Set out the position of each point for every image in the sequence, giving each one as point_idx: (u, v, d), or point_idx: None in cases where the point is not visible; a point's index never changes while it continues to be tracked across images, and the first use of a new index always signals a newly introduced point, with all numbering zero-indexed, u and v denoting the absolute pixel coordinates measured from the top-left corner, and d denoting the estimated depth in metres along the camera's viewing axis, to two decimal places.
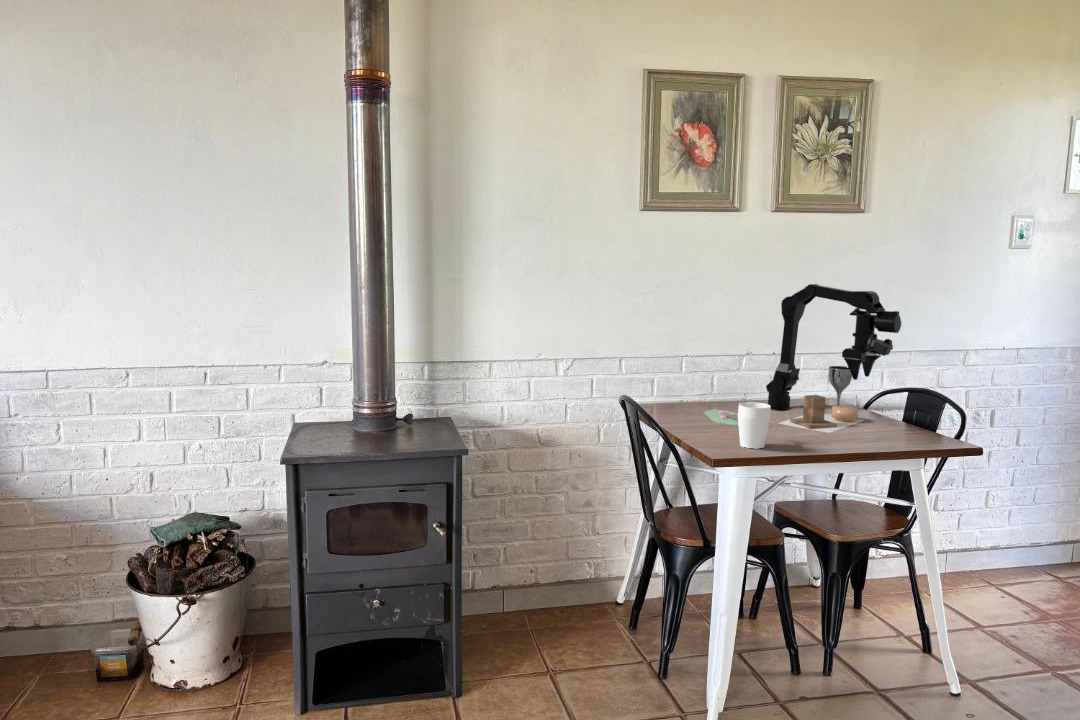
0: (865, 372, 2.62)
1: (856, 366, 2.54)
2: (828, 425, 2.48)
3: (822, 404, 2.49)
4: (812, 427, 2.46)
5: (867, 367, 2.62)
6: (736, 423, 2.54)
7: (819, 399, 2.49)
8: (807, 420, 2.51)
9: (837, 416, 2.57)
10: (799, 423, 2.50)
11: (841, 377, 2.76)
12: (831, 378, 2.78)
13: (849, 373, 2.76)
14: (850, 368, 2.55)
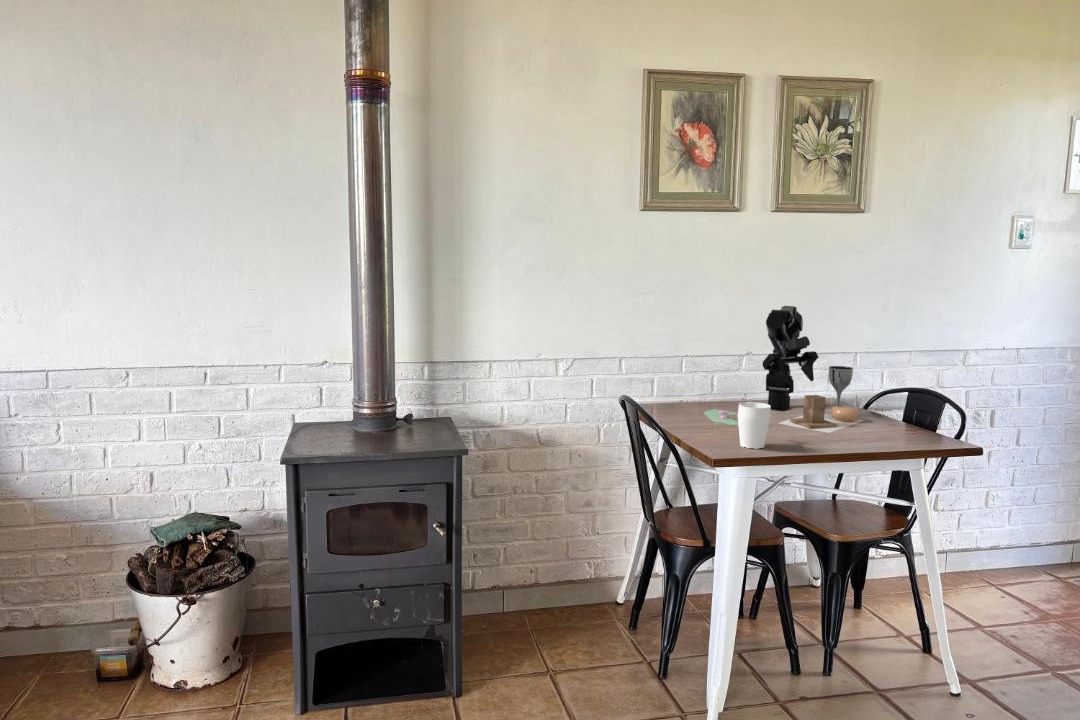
0: (809, 378, 2.60)
1: (781, 370, 2.57)
2: (828, 425, 2.48)
3: (822, 404, 2.49)
4: (812, 427, 2.46)
5: (808, 373, 2.61)
6: (736, 423, 2.54)
7: (819, 399, 2.49)
8: (807, 420, 2.51)
9: (837, 416, 2.57)
10: (799, 423, 2.50)
11: (841, 377, 2.76)
12: (831, 378, 2.78)
13: (849, 373, 2.76)
14: (779, 375, 2.59)
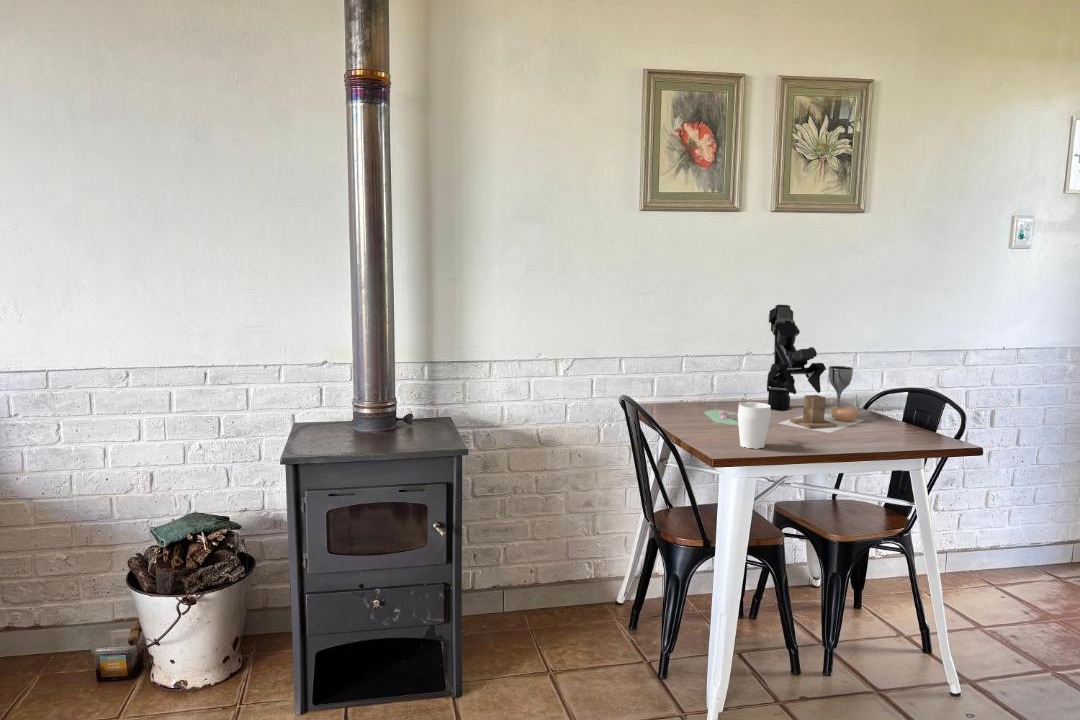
0: (816, 389, 2.56)
1: (787, 381, 2.54)
2: (828, 425, 2.48)
3: (822, 404, 2.49)
4: (812, 427, 2.46)
5: (815, 384, 2.57)
6: (736, 423, 2.54)
7: (819, 399, 2.49)
8: (807, 420, 2.51)
9: (837, 416, 2.57)
10: (799, 423, 2.50)
11: (841, 377, 2.76)
12: (831, 378, 2.78)
13: (849, 373, 2.76)
14: (785, 386, 2.55)
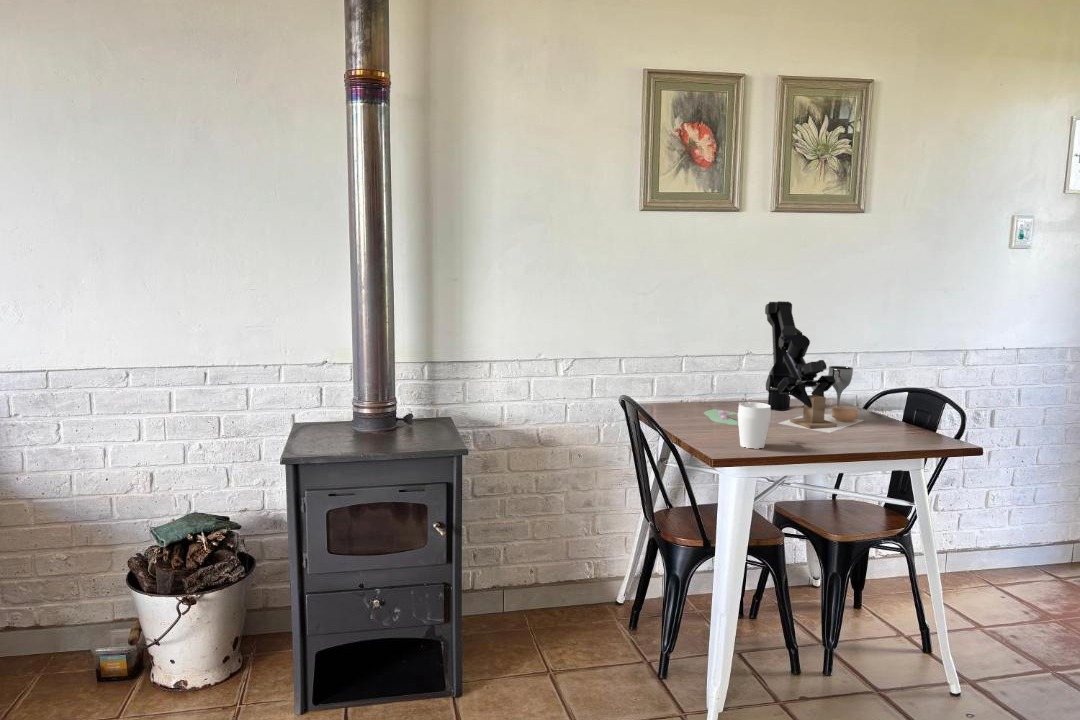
0: None
1: (802, 394, 2.51)
2: (828, 425, 2.48)
3: (822, 404, 2.49)
4: (812, 427, 2.46)
5: None
6: (737, 423, 2.54)
7: (819, 399, 2.49)
8: (807, 420, 2.51)
9: (837, 416, 2.57)
10: (799, 423, 2.50)
11: (841, 377, 2.76)
12: None
13: (849, 373, 2.76)
14: (800, 399, 2.52)
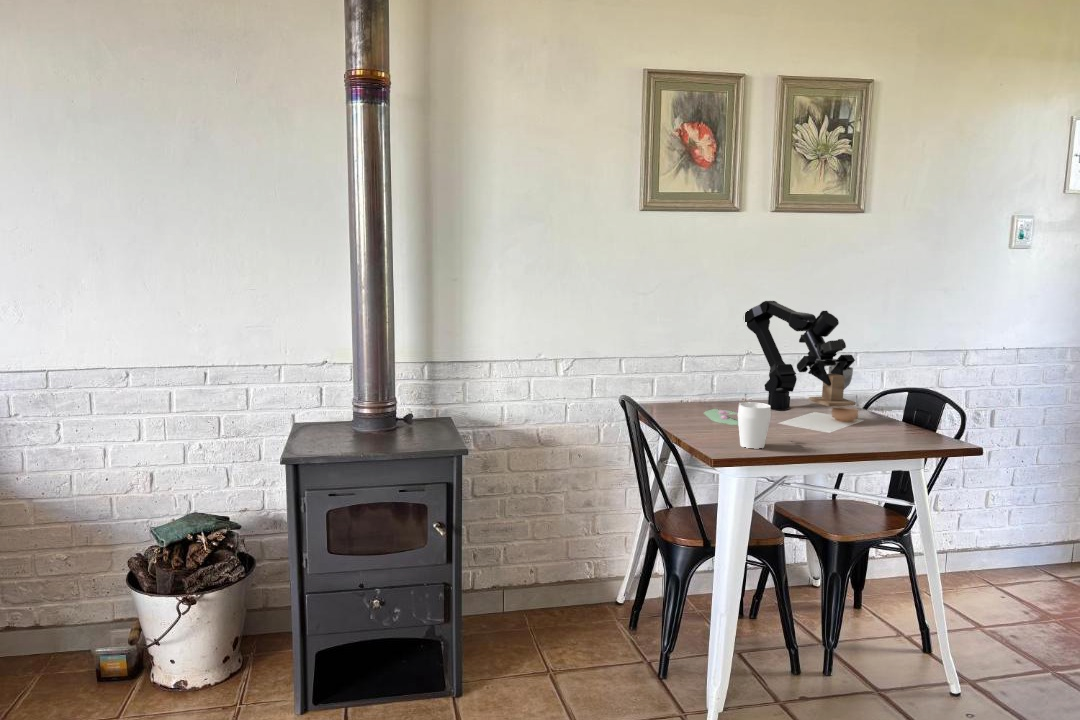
0: None
1: (821, 372, 2.54)
2: (847, 403, 2.51)
3: (841, 382, 2.52)
4: (831, 405, 2.49)
5: None
6: (737, 423, 2.54)
7: (838, 377, 2.52)
8: (826, 398, 2.54)
9: (837, 416, 2.57)
10: (818, 401, 2.54)
11: None
12: None
13: (849, 373, 2.76)
14: (820, 378, 2.55)
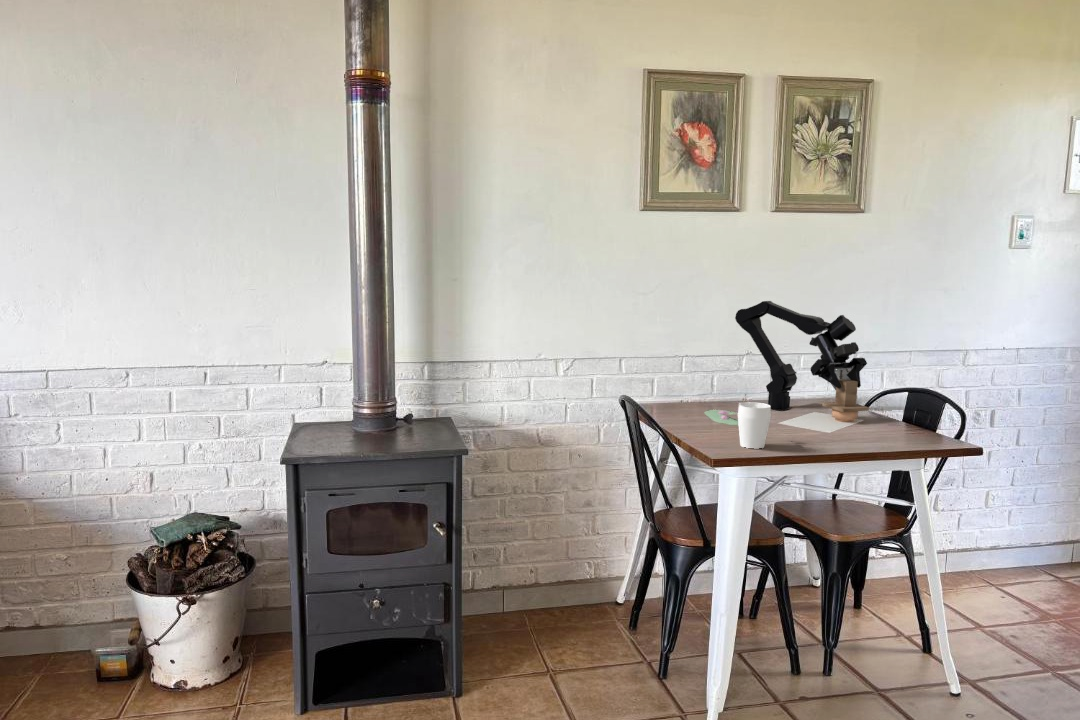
0: None
1: (831, 375, 2.57)
2: (860, 408, 2.55)
3: (854, 388, 2.56)
4: (845, 410, 2.52)
5: (855, 379, 2.59)
6: (737, 423, 2.54)
7: (851, 383, 2.55)
8: (839, 403, 2.58)
9: (837, 416, 2.57)
10: (832, 407, 2.57)
11: (841, 377, 2.76)
12: None
13: None
14: (830, 381, 2.58)
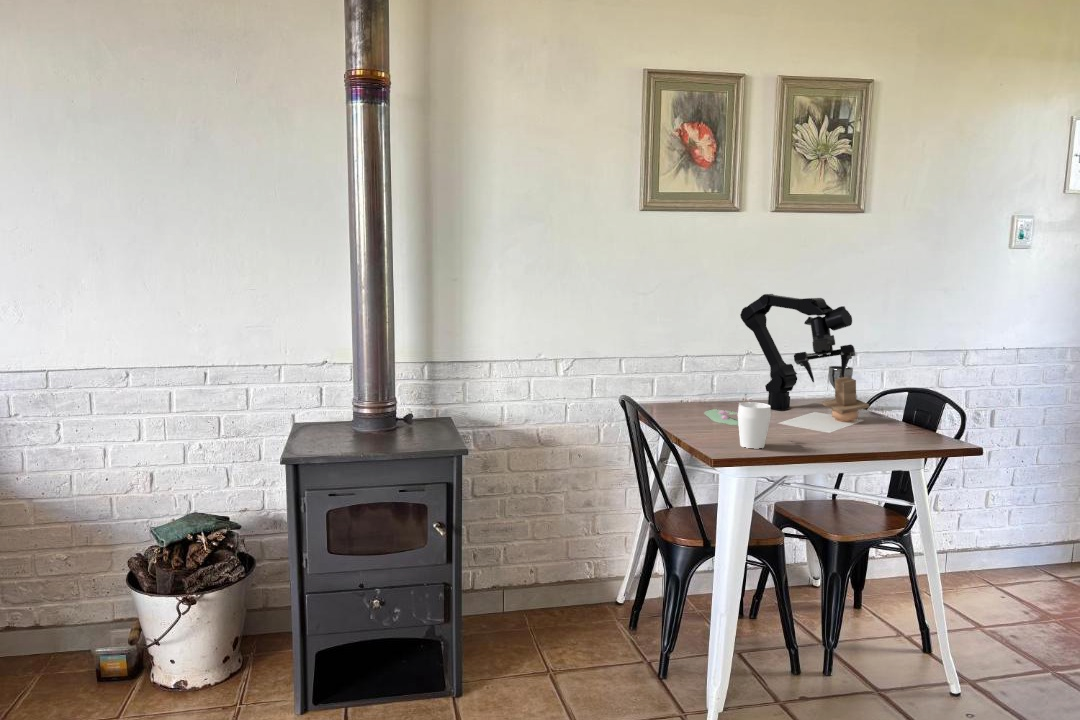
0: None
1: None
2: (860, 407, 2.54)
3: (853, 387, 2.55)
4: (844, 412, 2.52)
5: None
6: None
7: (849, 383, 2.54)
8: (839, 403, 2.57)
9: (837, 416, 2.57)
10: (832, 407, 2.57)
11: (841, 377, 2.76)
12: (831, 378, 2.78)
13: (849, 373, 2.76)
14: None
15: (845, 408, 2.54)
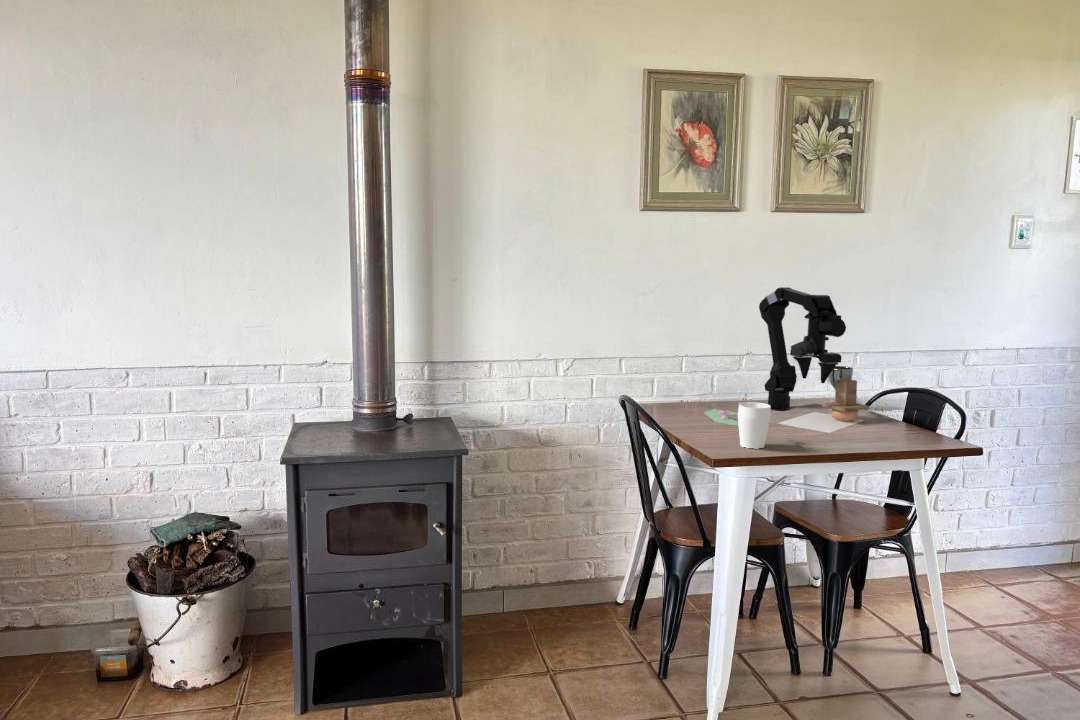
0: None
1: None
2: (861, 407, 2.54)
3: (854, 387, 2.56)
4: (847, 410, 2.52)
5: None
6: None
7: (851, 382, 2.55)
8: (839, 403, 2.57)
9: (837, 416, 2.57)
10: (833, 407, 2.57)
11: (841, 377, 2.76)
12: (831, 378, 2.78)
13: (849, 373, 2.76)
14: None
15: (847, 407, 2.54)
